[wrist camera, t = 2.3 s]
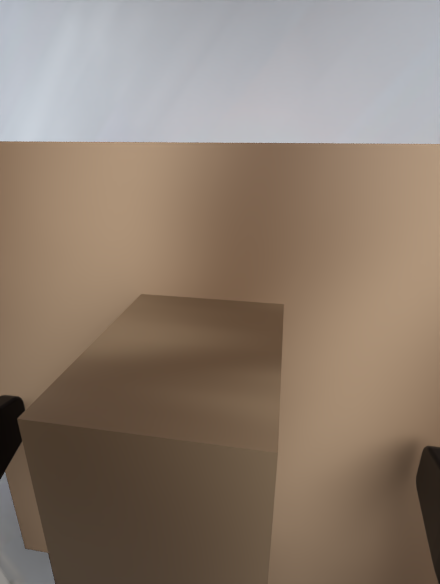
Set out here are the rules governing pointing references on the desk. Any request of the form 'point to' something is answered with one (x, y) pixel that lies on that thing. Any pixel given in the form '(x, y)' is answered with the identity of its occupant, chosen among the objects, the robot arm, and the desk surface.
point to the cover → (222, 358)
